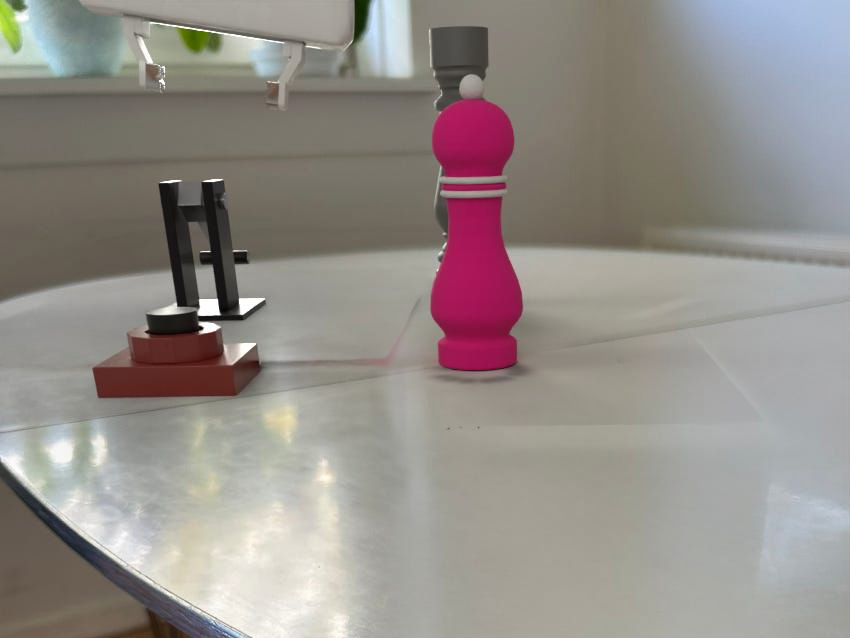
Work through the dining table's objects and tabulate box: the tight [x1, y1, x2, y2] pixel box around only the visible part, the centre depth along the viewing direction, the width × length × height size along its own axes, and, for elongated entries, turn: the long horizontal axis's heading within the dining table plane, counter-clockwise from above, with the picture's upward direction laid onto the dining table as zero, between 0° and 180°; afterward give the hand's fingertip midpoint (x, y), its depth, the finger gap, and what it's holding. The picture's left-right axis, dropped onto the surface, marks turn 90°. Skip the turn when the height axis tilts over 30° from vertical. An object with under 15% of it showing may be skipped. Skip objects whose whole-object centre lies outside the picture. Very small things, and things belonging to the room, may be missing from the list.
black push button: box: [145, 306, 200, 335], centre depth 73 cm, size 4×4×2 cm
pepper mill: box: [429, 74, 524, 371], centre depth 75 cm, size 7×7×20 cm
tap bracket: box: [157, 178, 267, 322], centre depth 96 cm, size 10×9×13 cm
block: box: [91, 321, 261, 399], centre depth 74 cm, size 10×8×4 cm
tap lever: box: [178, 180, 251, 266], centre depth 98 cm, size 12×5×2 cm
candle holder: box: [428, 25, 490, 276], centre depth 100 cm, size 6×6×25 cm
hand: (214, 100), depth 76 cm, fingers open, 8 cm apart
